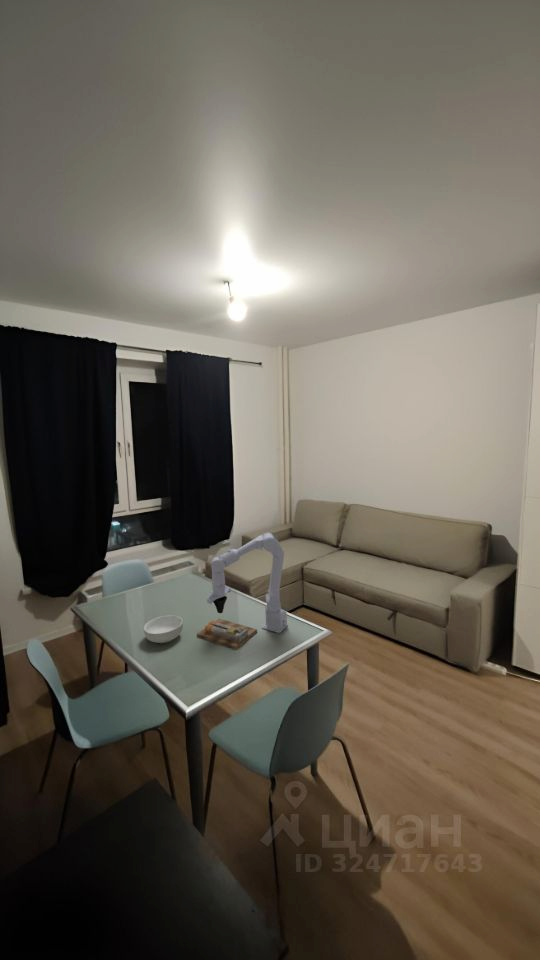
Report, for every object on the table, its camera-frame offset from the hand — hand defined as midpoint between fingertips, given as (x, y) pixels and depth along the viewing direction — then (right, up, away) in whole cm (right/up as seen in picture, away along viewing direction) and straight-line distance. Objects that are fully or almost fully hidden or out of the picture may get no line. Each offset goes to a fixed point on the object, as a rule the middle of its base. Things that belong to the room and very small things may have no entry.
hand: (220, 612), depth 175 cm
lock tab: (+6, -5, -9) cm, 12 cm away
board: (+3, -10, -2) cm, 10 cm away
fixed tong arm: (+3, -8, -4) cm, 10 cm away
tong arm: (+3, -8, -3) cm, 9 cm away
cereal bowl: (-25, -11, -3) cm, 27 cm away
